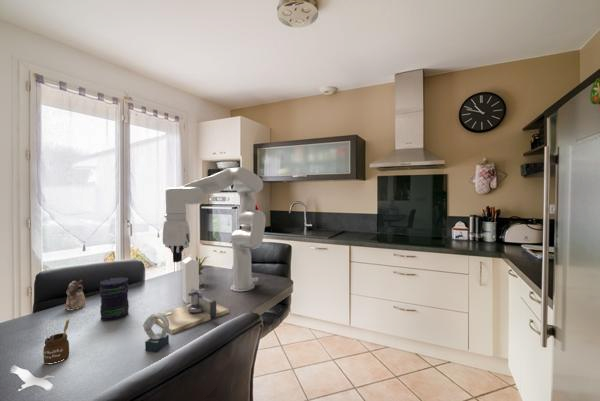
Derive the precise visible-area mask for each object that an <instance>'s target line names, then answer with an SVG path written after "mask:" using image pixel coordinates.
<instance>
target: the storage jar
mask: <svg viewBox="0 0 600 401" xmlns="http://www.w3.org/2000/svg"><path fill="white" fill-rule="evenodd" d="M128 281H129V278H128V277H126V276H125V277H124V276H117V277H111V278H106V279H103V280H101V281H100V282H99V296H100V304H101V305H100V309H99V310H100V311H99V313H100V320H101V321H102V322H114V321H118V320H121V319H124V318H126V317H127V316H128V315H129V306H130V305H129V300H128V299H129V298H128V297H129V296H128V295H129V294H128V293H129V282H128Z"/></svg>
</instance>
